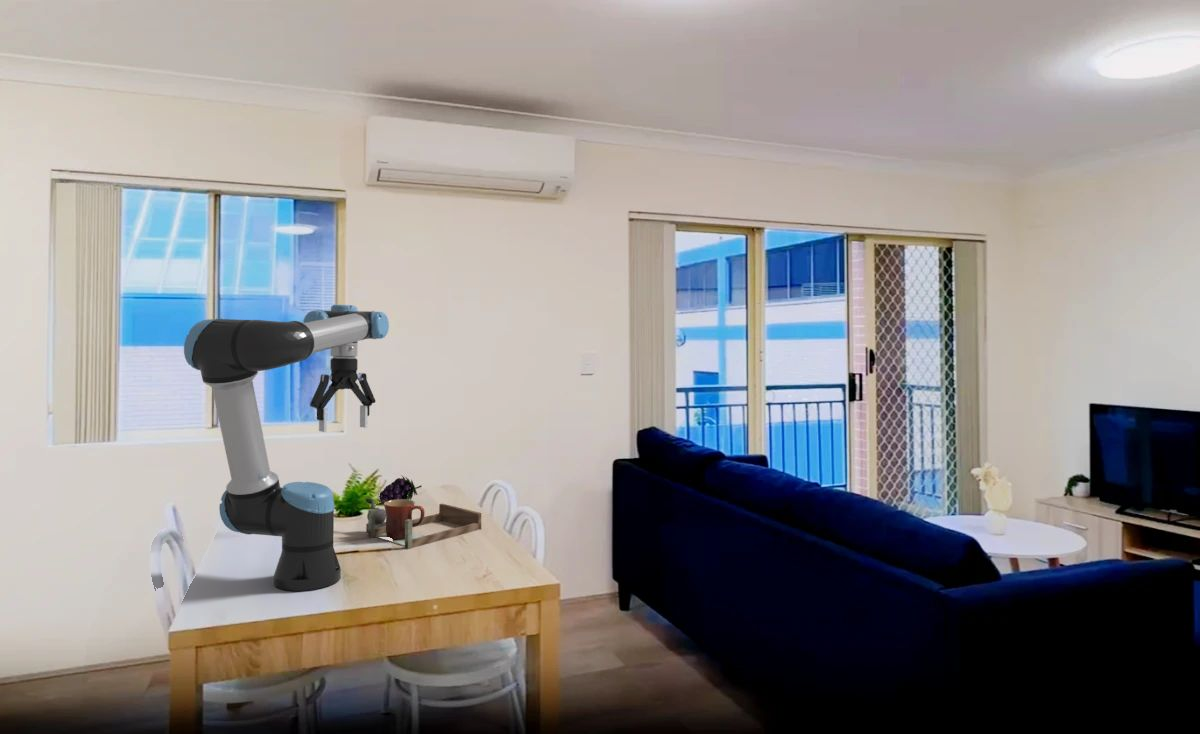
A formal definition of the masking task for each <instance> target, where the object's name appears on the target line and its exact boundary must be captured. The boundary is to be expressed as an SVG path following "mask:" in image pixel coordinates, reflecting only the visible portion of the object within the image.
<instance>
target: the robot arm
mask: <svg viewBox="0 0 1200 734" xmlns="http://www.w3.org/2000/svg"><path fill="white" fill-rule="evenodd" d="M389 324H390V322H389V318H388V316H387V314H386V313H385V312H383V311H375V310H371V311H368V310H367V311H363V310H360V311H359V310H358V308H357V306H356V305H350V304H349V305H348V304H333V305H331V307H330V310H323V309H316V310H310V311H309V312H307V313H306V314H305V316H304V318H303V322H302V321H299V320H290V321H289V320H288V321H275V320H274V321H273V320H264V319H263V320H261V319H235V318H234V319H230V318H229V319H227V318H219V317H218V318H215V319H214V318H213V319H212V318H211V319H210V318H209V319H203V320H201V321H198V322H197V323H195V324H194V325H193V326H192V327H191V328H190V329H189V331H188V334H186V337H185V340H184V343H183V344H184V345H183V354H184V359H185V361H186V363H187V365H189V366H191V368H192V369H195V370H196V371H200V374H201V378H202V379H201V380H202V383H204V384H205V385H208V387H210V388H211V390H212V394H213V399H214V400H213V401H214V404H215V410H216V412H217V418H218V422H219V427H220V431H221V432H220V433H221V436H222V441H223V445H224V451H225V455H226V456H225V457H226V460H227V465H228V469H229V474H230V481H229V482H228V483H227V484H226V489H225V490H224V492H223V493H222V495H221V498H220V501H221V503H220V504H219V515H220V519H221V520H222V523H223V524H224V526H225V527H226V528H228V529H229V530H230V531H231V532H232V531H233V532H234V533H240V534H243V535H244V534H245V535H259V536H271V537H273V536H274V537H281V554H280V557H279V559H278V563H277V565H276V568H275V571H274V574H273V586H274V587H275V588H277V589H280V590H284V591H291V592H292V591H293V592H300V591H312V590H318V589H319V590H320V589H323V588H326V587H330V586H333V585H334V584H336V583H339V581H340V580H341V578H342V570H341V569H342V568H341V565H340V562H339V559H338V557H337V554H336V550H335V548H334V547H335V546H334V522H335V520H334V519H335V518H334V517H335V516H334V515H335V502H334V500H335V499H334V494H333V491H332V489H331V488H330V487H328V486H327V485H325V484H321V483H319V482H318V483H317V482H311V481H304V482H303V481H294V482H288V483H286V484H284V485H283V486H282V487H281V485H280V479H279V476H278V474H277V473H276V472H274V471H271V470H270V464H269V459H268V454H267V449H266V444H265V438H264V433H263V432H264V431H263V427H262V422H261V418H260V412H259V408H258V402H257V397H256V391H255V387H254V382H253V380H254V379H255V377H256V376H257V375H258V374H259V372H263V371H269V370H274V369H277V368H281V367H285V366H289V365H292V364H295V363H299V362H300V363H301V362H302V361H305V360H307V359H309V358H310V357H311V356H312V354H315V353H319V352H323V351H326V350H329V351H330V353H329V355H330V357H331V359H330V372H331V373H330V375H329V374H326V373H325V374H323V373H322V374H321V375H320V379H319V380H320V381H319V383H318V386H317V387H316V390H315V392H314V394H313V397H312V399H311V401H310V403H309V407H311V408H314V409H316V421H318V432H322V433H327V430H328V420H327V419H328V418H327V417H328V415H327V414H328V413H327V412H328V411H327V410H328V409H327V408H326V406H327V405H328V403H329V402H330V401H331V399H332V398H333V396H334V395H336V393H337V392H338V391H339V390H351V391H352V393H353V394H354V395H355V397H356V398H357V399H358V400H359V402H360V403H361V404H362V405H359V427H360V428H364V429H365V428H368V417H369V416H370V407H371V406H372V405H373V404H375V403H376V399H375V396H374V394H373V392H372V390H371V387H370V384H369V383H368V380H367V379H368V377H367V373H364V372H359V373H357V371H358V360H359V359H358V358H356V357H358V342H359V341H364V340H369V339H371V340H379V339H383V338H385V337H386V336H387V334H388V332H389V330H390V329H389V328H390V325H389ZM357 381H358V382H359V384H358V383H357ZM330 382H331V383H330ZM329 383H330V384H329ZM328 385H329V386H328ZM359 385H360V386H359ZM327 387H328V388H327ZM360 387H361V389H360ZM326 389H327V390H326Z"/></svg>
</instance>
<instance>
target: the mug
mask: <svg viewBox="0 0 1200 734" xmlns="http://www.w3.org/2000/svg"><path fill="white" fill-rule="evenodd" d="M383 507H384V509H385V510H384V511H385V512H386V519H385V522H386V535H387V537H390V538H392V539H393V540H402V539H405V520H408V519H411V520H413V511H414V510H416V509H417V510H420V517H419V518H420V520H419V521H418V522H417V523H413V522H412V528H416V527H419V526H418V525H420V524H421V523H422V521H423V519H424V517H425V514H426V513H425V508H424V507H423V506H421V505H415V501H414V500H412V499H411V500H410V499H409V500H404V499H399V500H390V501H387V502H386V501H384V503H383ZM420 526H421V525H420Z"/></svg>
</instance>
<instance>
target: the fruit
mask: <svg viewBox="0 0 1200 734" xmlns="http://www.w3.org/2000/svg"><path fill="white" fill-rule="evenodd" d="M400 476H401V477H402V478H399V477H398V478H395V480H394V481H393V482H391V483H389V484H387V485H386V486H385V487H384V488H383V490H381V491H380V496H379V495H378V497H379V501H380V502H386V501H390V500H399V499H404V500H412V499H413V496H418V492H417V489H420V488H421V487H423V486H422V485H421V484H420V485H418V486H417V487H416V486H415V484H414V482H413V479H409V478H408V477H406V476H404V475H402V474H400Z"/></svg>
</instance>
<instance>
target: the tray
mask: <svg viewBox="0 0 1200 734" xmlns="http://www.w3.org/2000/svg"><path fill="white" fill-rule="evenodd" d="M365 503H368V504H369V505H370V509H368V512H367V516H366V517H367V521H368V523H366V525H365V526H366V527H365V528H366V529H365V530H366V531H365V533H368V534H367V537H368V536H370V537H369V538H376V537H387V535H386V511H385V510H384V509H381V508H377V507H375V499H373V498H369V497H366V498H365ZM438 506H439V510H438V512H439V513H436V514H435V513H434V514H431V515H427V516H424V519H423V521H422V523H421V524H420V525H418V526H417V527H419V526H423V525H427V524H431V523H432V524H433V523H435V522H439V521H443V522H444V521H445V522H447V523H452V524H455V525H459V526H457V527H455V528H449V529H446V530H442V531H438V532H433V533H431V534H428V535H424V534H421V533H417V532H413V527H412V522H413V523H417V522H418V521H419V520H420V517H418V518H417V517H416V518H414V519H413V518H412V520H411V519H408V520H405V539H402V540H393V544H396V545H398V546H403V547H404V549H407V550H409V549H412V548H416V547H421V546H424V545H427V544H431V543H435V542H438V541H442V540H447V539H450V538H454V537H457V536H460V535H465V534H467V533H470V532H471V533H472V532H475V531H479V530H481V529H482V512H479V511H476V510H475V511H474V510H470V509H468V508H467V509H466V508H462V507H457V506H453V505H449V504H445V503H439V505H438ZM478 529H479V530H478Z"/></svg>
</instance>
